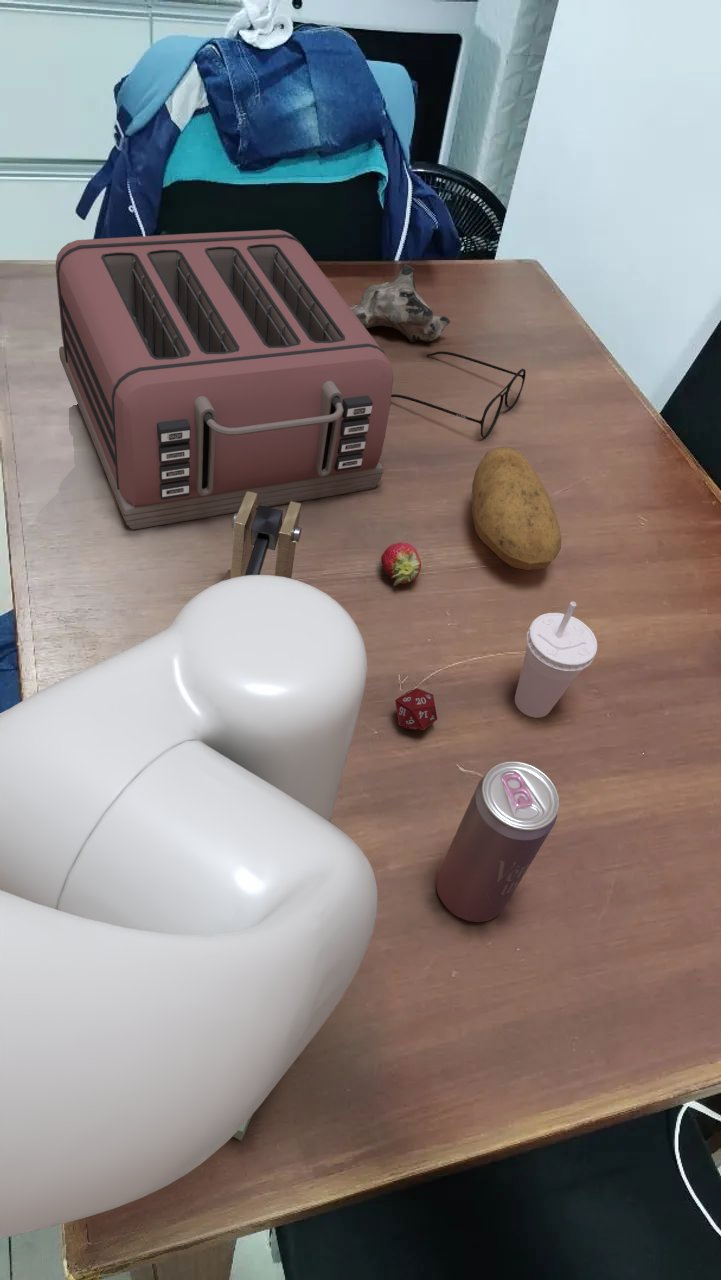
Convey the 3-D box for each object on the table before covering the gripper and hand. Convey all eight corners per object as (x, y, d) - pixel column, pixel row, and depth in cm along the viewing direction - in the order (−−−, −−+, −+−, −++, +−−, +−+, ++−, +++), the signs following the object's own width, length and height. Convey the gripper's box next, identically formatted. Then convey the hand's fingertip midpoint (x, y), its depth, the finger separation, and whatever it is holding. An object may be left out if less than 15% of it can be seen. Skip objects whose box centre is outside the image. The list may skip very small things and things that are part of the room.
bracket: (289, 676, 87) (305, 565, 76) (197, 655, 87) (200, 541, 76) (312, 597, 94) (330, 485, 84) (227, 578, 94) (234, 463, 84)
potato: (483, 593, 99) (507, 529, 92) (450, 499, 109) (468, 435, 102) (557, 592, 101) (585, 529, 94) (517, 499, 111) (540, 436, 104)
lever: (258, 665, 76) (258, 652, 74) (199, 651, 76) (198, 639, 74) (297, 528, 83) (298, 513, 81) (243, 516, 83) (243, 501, 81)
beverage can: (488, 851, 78) (540, 751, 67) (517, 915, 74) (577, 822, 63) (424, 866, 76) (466, 766, 65) (450, 933, 72) (500, 840, 61)
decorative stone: (338, 342, 126) (349, 267, 121) (331, 323, 134) (342, 251, 128) (449, 356, 130) (465, 283, 124) (436, 337, 137) (451, 267, 131)
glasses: (479, 445, 117) (485, 411, 113) (377, 410, 122) (380, 376, 118) (522, 397, 126) (528, 363, 122) (426, 366, 131) (429, 333, 127)
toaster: (137, 561, 94) (130, 422, 81) (59, 365, 115) (44, 229, 102) (397, 513, 105) (427, 384, 93) (283, 342, 126) (296, 217, 113)
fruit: (411, 555, 101) (420, 522, 97) (421, 595, 97) (430, 561, 93) (373, 555, 100) (381, 521, 96) (382, 594, 96) (390, 560, 93)
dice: (400, 745, 84) (408, 719, 81) (386, 706, 86) (393, 680, 84) (438, 739, 85) (448, 713, 82) (423, 701, 88) (431, 675, 85)
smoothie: (499, 673, 91) (540, 574, 81) (560, 681, 92) (609, 583, 82) (503, 725, 87) (547, 627, 77) (568, 732, 88) (620, 636, 77)
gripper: (51, 814, 39) (77, 983, 53) (369, 957, 37) (313, 1096, 51) (141, 695, 45) (144, 877, 58) (425, 816, 43) (361, 975, 56)
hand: (223, 979), depth 54 cm, fingers closed
